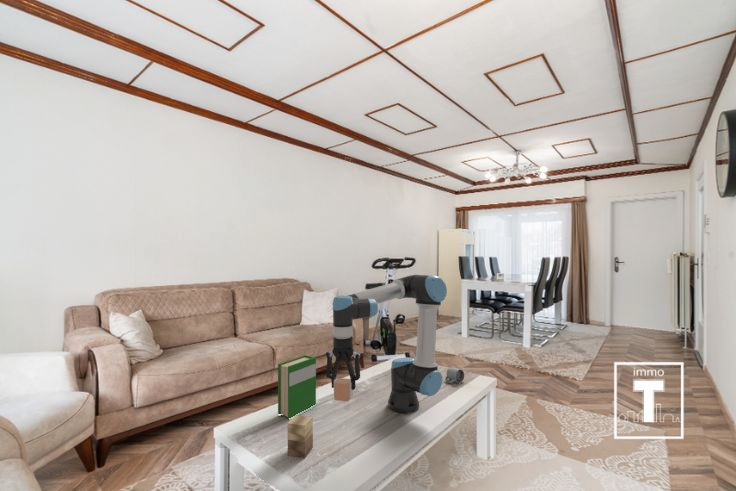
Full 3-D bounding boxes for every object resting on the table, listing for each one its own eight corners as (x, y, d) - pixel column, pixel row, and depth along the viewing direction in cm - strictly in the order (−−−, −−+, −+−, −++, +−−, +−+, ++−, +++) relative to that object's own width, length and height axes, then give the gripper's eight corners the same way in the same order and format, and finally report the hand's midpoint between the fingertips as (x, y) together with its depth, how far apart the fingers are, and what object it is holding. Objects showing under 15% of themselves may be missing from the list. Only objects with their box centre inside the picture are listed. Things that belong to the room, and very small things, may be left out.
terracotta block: (352, 395, 141) (352, 379, 141) (348, 401, 135) (347, 384, 136) (339, 394, 142) (339, 378, 142) (334, 400, 137) (334, 382, 137)
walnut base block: (312, 448, 139) (312, 432, 139) (305, 458, 132) (305, 441, 132) (296, 446, 141) (296, 430, 141) (287, 455, 134) (287, 439, 134)
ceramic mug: (454, 377, 217) (453, 364, 218) (464, 381, 211) (464, 368, 211) (441, 381, 211) (441, 368, 211) (452, 385, 205) (452, 372, 205)
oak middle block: (312, 432, 139) (312, 417, 139) (304, 442, 132) (304, 425, 132) (296, 430, 141) (296, 415, 141) (287, 439, 134) (287, 423, 134)
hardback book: (289, 420, 162) (289, 366, 163) (277, 416, 166) (278, 363, 167) (315, 406, 177) (315, 357, 177) (304, 403, 181) (304, 355, 182)
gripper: (368, 335, 140) (369, 395, 140) (324, 333, 145) (324, 391, 145) (363, 340, 133) (364, 403, 133) (316, 337, 138) (317, 398, 138)
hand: (343, 396), depth 139 cm, fingers closed on terracotta block, 5 cm apart
